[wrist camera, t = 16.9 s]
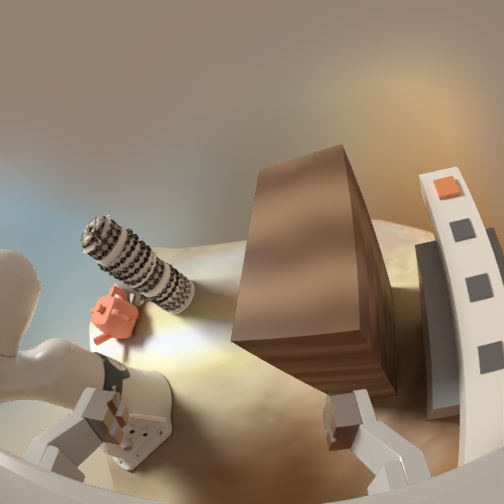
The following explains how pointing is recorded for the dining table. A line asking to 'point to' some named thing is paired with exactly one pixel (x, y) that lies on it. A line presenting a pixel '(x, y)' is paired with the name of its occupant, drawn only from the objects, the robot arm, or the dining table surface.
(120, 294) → the teapot
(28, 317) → the robot arm
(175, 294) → the decorative candle
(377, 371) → the walnut post
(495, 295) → the power strip
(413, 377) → the dining table surface
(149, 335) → the dining table surface
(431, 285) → the dark grey block
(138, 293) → the ceramic mug
